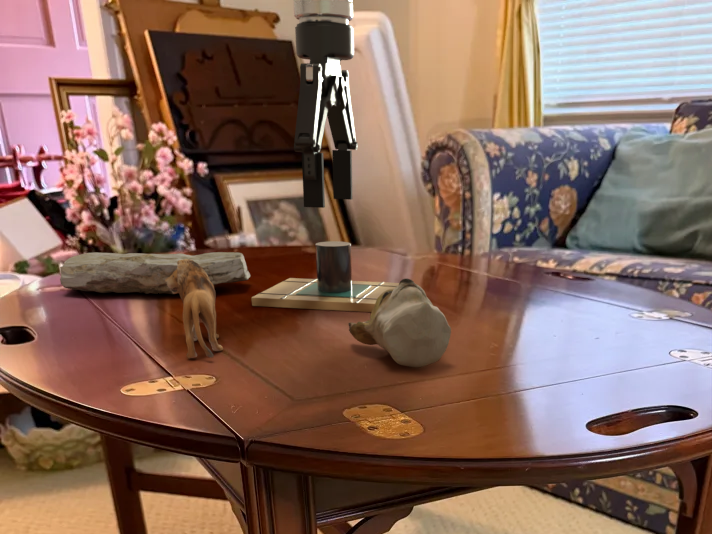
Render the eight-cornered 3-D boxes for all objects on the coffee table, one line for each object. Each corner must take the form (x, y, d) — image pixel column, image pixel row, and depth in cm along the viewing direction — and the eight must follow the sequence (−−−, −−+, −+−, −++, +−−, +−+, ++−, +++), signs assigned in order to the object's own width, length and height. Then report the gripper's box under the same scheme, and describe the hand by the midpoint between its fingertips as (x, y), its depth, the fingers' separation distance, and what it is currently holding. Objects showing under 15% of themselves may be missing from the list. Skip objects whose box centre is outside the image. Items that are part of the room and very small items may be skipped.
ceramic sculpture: (375, 288, 74) (341, 272, 87) (376, 376, 78) (344, 348, 91) (476, 284, 77) (429, 269, 90) (473, 369, 81) (428, 343, 94)
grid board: (251, 305, 109) (251, 296, 109) (289, 285, 123) (289, 277, 122) (387, 313, 106) (387, 303, 105) (410, 291, 119) (411, 282, 119)
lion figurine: (171, 334, 94) (160, 257, 90) (214, 330, 96) (206, 255, 92) (189, 364, 83) (177, 278, 78) (238, 359, 84) (229, 275, 80)
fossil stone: (256, 282, 126) (253, 247, 123) (238, 300, 113) (235, 262, 110) (87, 280, 126) (80, 246, 123) (50, 298, 113) (42, 260, 110)
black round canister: (312, 291, 112) (310, 245, 109) (323, 285, 116) (321, 240, 113) (347, 293, 111) (345, 246, 108) (356, 286, 115) (355, 242, 112)
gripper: (322, 9, 86) (328, 212, 96) (376, 33, 108) (376, 197, 118) (260, 10, 88) (272, 209, 98) (325, 33, 109) (330, 195, 119)
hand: (329, 203), depth 108 cm, fingers open, 13 cm apart
